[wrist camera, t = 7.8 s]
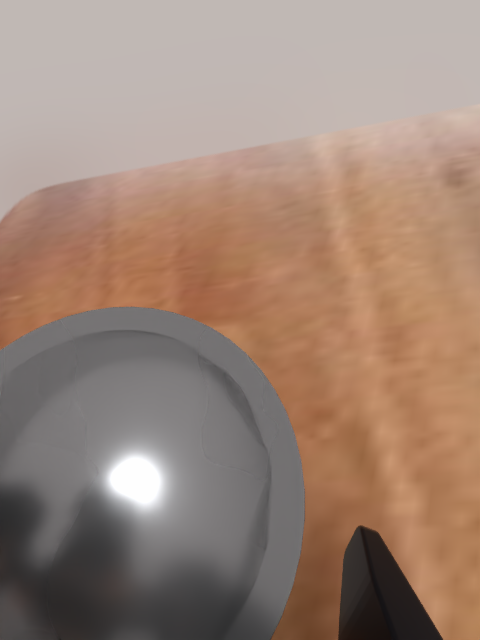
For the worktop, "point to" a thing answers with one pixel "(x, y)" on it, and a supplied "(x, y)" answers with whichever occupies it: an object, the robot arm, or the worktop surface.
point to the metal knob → (143, 483)
